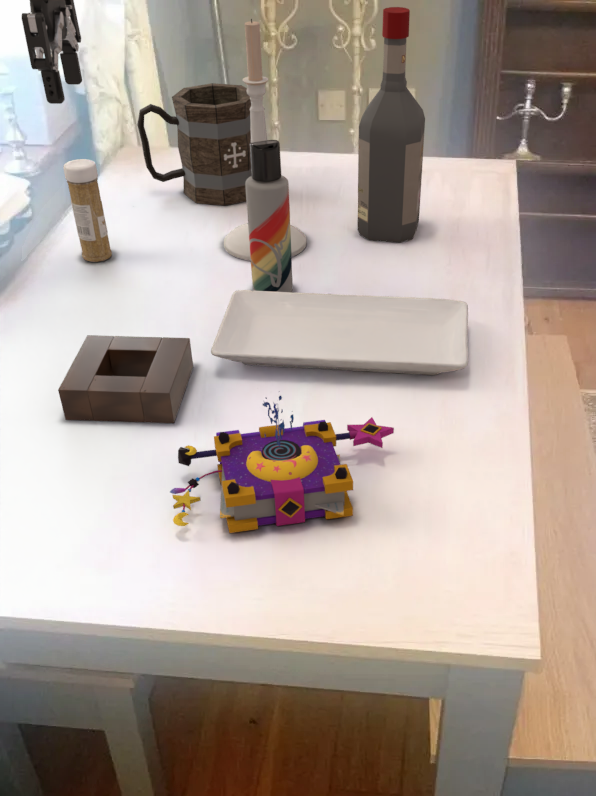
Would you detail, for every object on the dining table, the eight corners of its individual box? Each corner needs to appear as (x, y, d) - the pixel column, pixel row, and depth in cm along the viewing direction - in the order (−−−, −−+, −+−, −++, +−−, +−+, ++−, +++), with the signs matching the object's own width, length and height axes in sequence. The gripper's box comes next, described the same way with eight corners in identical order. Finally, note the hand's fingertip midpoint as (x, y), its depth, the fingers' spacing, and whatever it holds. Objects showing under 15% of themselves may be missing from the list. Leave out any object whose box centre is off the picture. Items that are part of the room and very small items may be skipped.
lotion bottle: (261, 303, 125) (250, 150, 111) (247, 286, 129) (236, 136, 115) (298, 295, 127) (293, 144, 113) (284, 279, 131) (277, 130, 117)
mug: (258, 175, 161) (252, 81, 150) (264, 203, 151) (259, 105, 141) (147, 181, 159) (134, 86, 148) (147, 210, 149) (132, 111, 139)
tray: (465, 389, 109) (468, 363, 106) (210, 376, 111) (207, 350, 109) (466, 323, 121) (468, 299, 118) (235, 312, 123) (233, 288, 121)
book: (165, 464, 98) (148, 364, 89) (387, 436, 102) (391, 336, 93) (177, 550, 88) (159, 445, 79) (423, 515, 92) (431, 411, 83)
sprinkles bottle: (118, 256, 136) (101, 163, 127) (92, 265, 134) (74, 171, 125) (101, 247, 139) (84, 155, 129) (76, 256, 136) (56, 163, 127)
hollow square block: (65, 420, 104) (57, 389, 101) (93, 364, 113) (87, 334, 111) (174, 423, 104) (169, 393, 101) (193, 367, 113) (189, 337, 110)
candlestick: (289, 266, 134) (279, 33, 113) (210, 255, 137) (186, 26, 116) (317, 233, 142) (313, 11, 121) (243, 223, 145) (226, 5, 124)
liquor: (420, 221, 146) (433, 3, 125) (413, 244, 139) (426, 19, 118) (364, 218, 147) (368, 1, 126) (355, 240, 140) (358, 16, 119)
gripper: (24, -65, 114) (53, 78, 126) (-15, -44, 104) (21, 109, 116) (81, -65, 114) (106, 78, 125) (48, -44, 104) (78, 109, 115)
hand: (65, 93), depth 120 cm, fingers open, 8 cm apart
